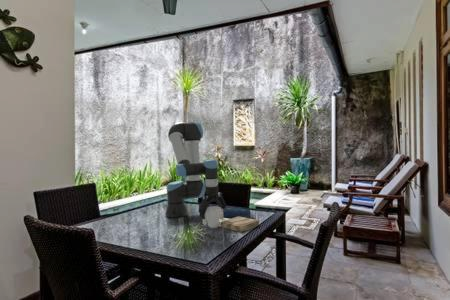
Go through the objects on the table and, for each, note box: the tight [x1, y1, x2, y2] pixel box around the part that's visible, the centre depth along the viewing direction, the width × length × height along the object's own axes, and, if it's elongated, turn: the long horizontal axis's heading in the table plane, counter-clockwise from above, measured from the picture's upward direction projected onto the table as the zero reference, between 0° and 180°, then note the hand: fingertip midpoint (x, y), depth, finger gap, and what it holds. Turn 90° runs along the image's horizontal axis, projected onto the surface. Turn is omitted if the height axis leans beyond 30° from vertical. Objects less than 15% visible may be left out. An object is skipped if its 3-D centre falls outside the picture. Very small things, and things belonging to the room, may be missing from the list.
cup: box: [205, 206, 221, 229], centre depth 177 cm, size 10×10×11 cm
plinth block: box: [220, 216, 260, 233], centre depth 176 cm, size 16×16×3 cm
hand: (213, 221), depth 177 cm, fingers open, 13 cm apart
